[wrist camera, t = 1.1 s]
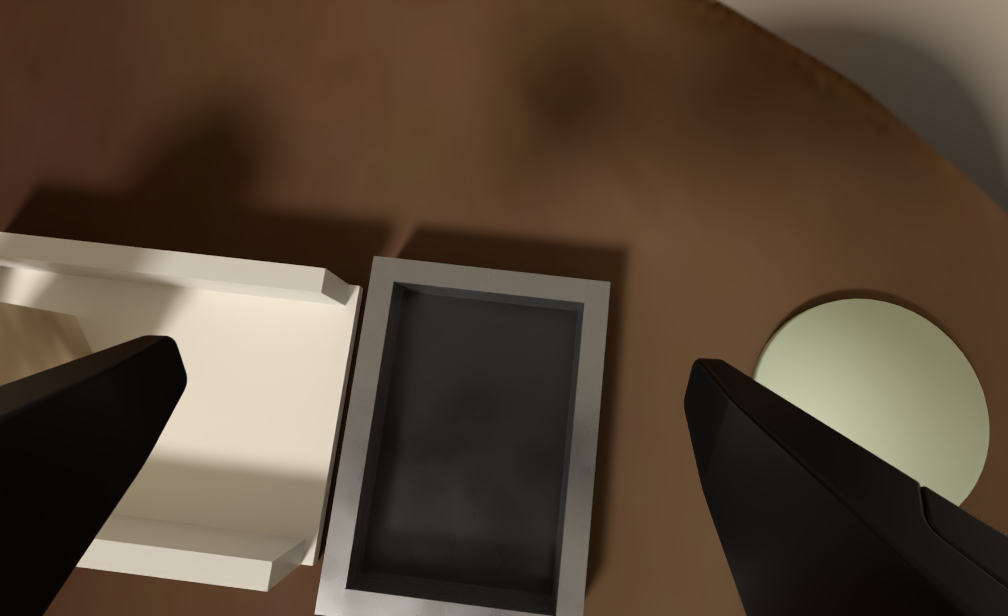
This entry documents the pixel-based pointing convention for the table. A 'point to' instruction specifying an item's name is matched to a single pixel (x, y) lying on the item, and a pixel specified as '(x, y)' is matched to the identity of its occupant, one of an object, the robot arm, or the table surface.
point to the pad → (885, 388)
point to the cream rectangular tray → (212, 400)
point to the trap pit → (468, 445)
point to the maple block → (37, 341)
